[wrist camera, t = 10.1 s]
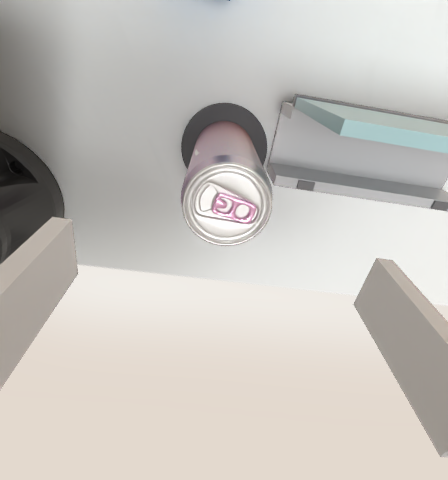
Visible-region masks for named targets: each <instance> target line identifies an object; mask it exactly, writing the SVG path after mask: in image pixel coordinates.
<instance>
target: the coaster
mask: <svg viewBox="0 0 448 480" xmlns="http://www.w3.org/2000/svg"><path fill="white" fill-rule="evenodd" d="M218 121H230V122H234V123H236V124H238V125H240V126H241V127H242V128H243V129H244V130H245V131H246V132H247V133H248V135H249V136H250V139H251V141H252V143H253V145H254V148H255V150H256V152H257V155H258V157H259V159H260V161H261V164H262V166H263V164H264V161H265V158H266V153H267V141H266V136H265V132H264V130H263V128H262V126H261V124H260V122H259V121H258V120H257V118H256V117H255V116H254V115H253V114H252V113H251V112H249V111H248V110H247V109H245V108H243V107H241V106H238V105H235V104H231V103H218V104H213V105H210V106H208V107H206V108H204V109H202V110H201V111H199V112H198V113H197V114H196V115H195V116H194V117H193V118H192V119H191V120H190V122H189V123H188V125H187V127H186V129H185V131H184V134H183V138H182V156H183V160H184V163H185V165H186V167H187V169H188V167H189V164H190V161H191V157H192V154H193V151H194V148H195V144H196V141H197V138H198V136H199V135H200V133H201V132H202V131H203V130H204V129H205V128H206V127H207V126H208V125H210V124H212V123H214V122H218Z"/></svg>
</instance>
